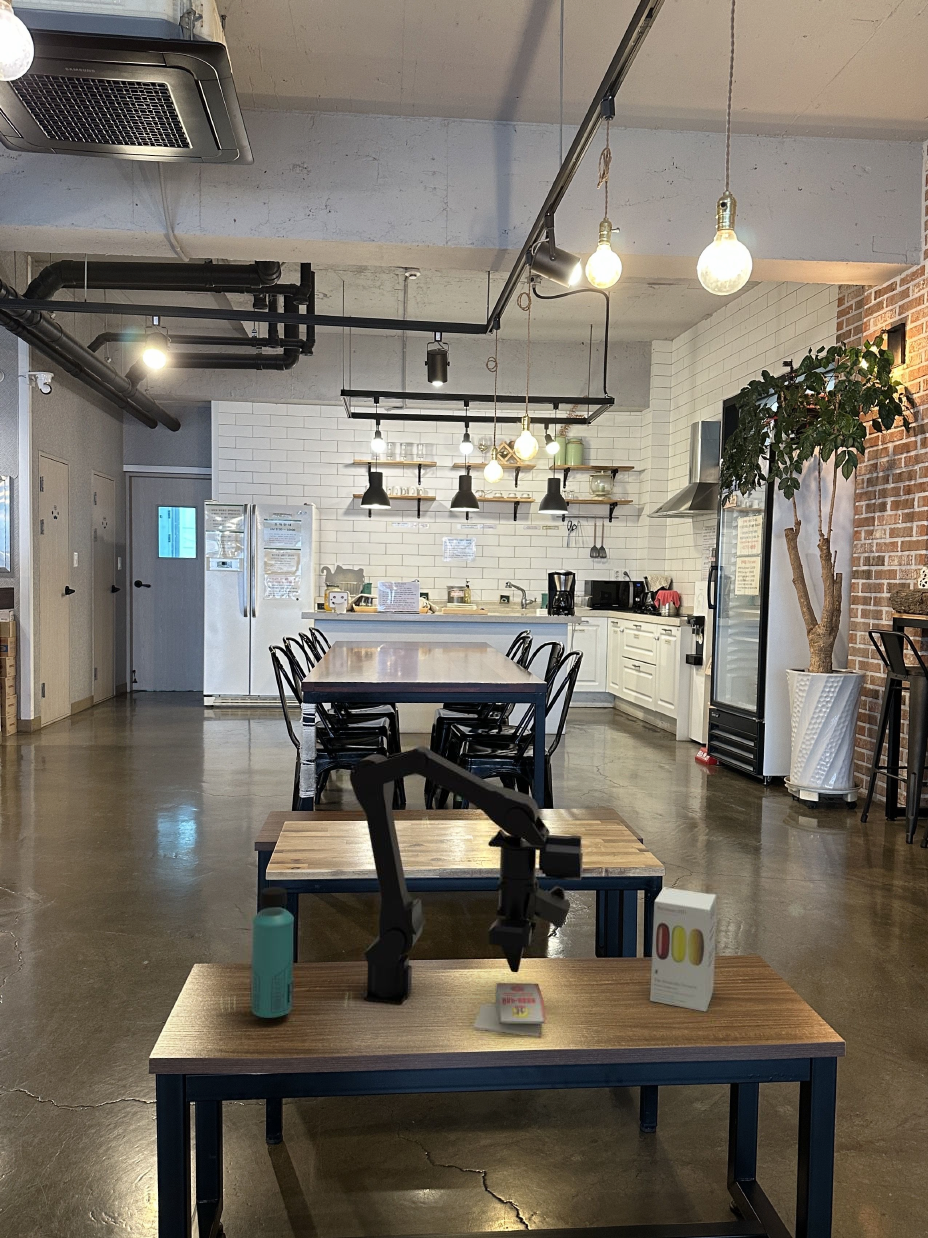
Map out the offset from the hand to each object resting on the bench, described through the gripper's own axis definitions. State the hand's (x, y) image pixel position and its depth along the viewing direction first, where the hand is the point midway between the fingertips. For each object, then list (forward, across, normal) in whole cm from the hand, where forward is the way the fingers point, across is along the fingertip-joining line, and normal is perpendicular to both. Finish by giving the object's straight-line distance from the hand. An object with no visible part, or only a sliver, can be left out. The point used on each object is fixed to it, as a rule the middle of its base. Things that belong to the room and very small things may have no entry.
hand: (514, 971), depth 147 cm
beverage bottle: (+6, -13, +36) cm, 39 cm away
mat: (+6, -4, 0) cm, 8 cm away
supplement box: (+6, +12, -27) cm, 30 cm away
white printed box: (+4, 0, 0) cm, 4 cm away
